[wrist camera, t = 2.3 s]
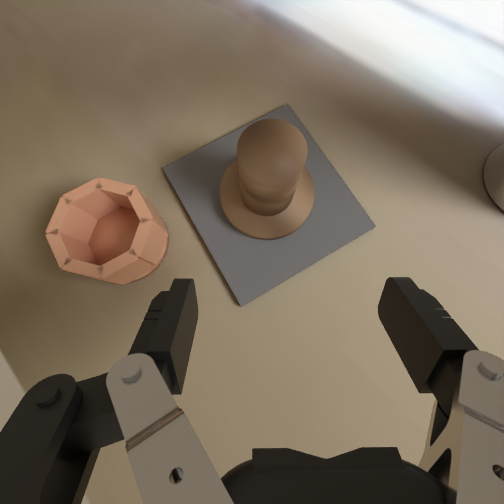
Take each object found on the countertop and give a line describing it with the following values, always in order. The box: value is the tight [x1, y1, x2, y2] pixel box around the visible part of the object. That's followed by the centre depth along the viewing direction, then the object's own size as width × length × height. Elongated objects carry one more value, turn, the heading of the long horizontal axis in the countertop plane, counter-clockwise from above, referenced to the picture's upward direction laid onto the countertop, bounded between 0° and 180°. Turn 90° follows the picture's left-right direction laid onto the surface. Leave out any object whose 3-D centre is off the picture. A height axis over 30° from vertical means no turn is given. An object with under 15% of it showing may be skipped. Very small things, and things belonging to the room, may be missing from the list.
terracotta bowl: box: [45, 177, 168, 285], centre depth 24 cm, size 8×8×5 cm
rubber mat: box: [163, 104, 376, 307], centre depth 27 cm, size 15×16×1 cm
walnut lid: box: [220, 119, 315, 240], centre depth 23 cm, size 9×9×8 cm
